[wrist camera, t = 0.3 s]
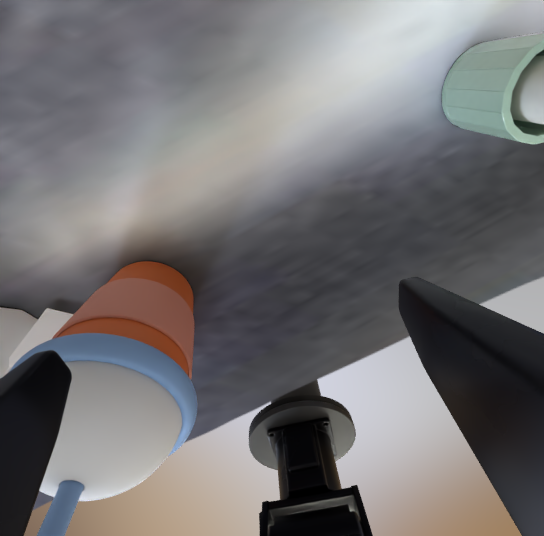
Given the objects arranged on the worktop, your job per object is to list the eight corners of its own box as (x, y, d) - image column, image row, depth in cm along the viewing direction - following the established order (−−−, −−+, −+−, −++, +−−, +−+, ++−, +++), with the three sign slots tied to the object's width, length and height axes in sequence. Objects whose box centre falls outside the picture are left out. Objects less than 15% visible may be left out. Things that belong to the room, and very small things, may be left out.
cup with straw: (128, 352, 28) (-17, 696, 12) (63, 263, 24) (-293, 627, 8) (230, 322, 27) (210, 651, 12) (182, 224, 23) (45, 545, 7)
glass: (512, 119, 21) (592, 131, 16) (439, 136, 21) (496, 153, 16) (525, 31, 19) (622, 15, 14) (442, 52, 19) (510, 42, 14)
